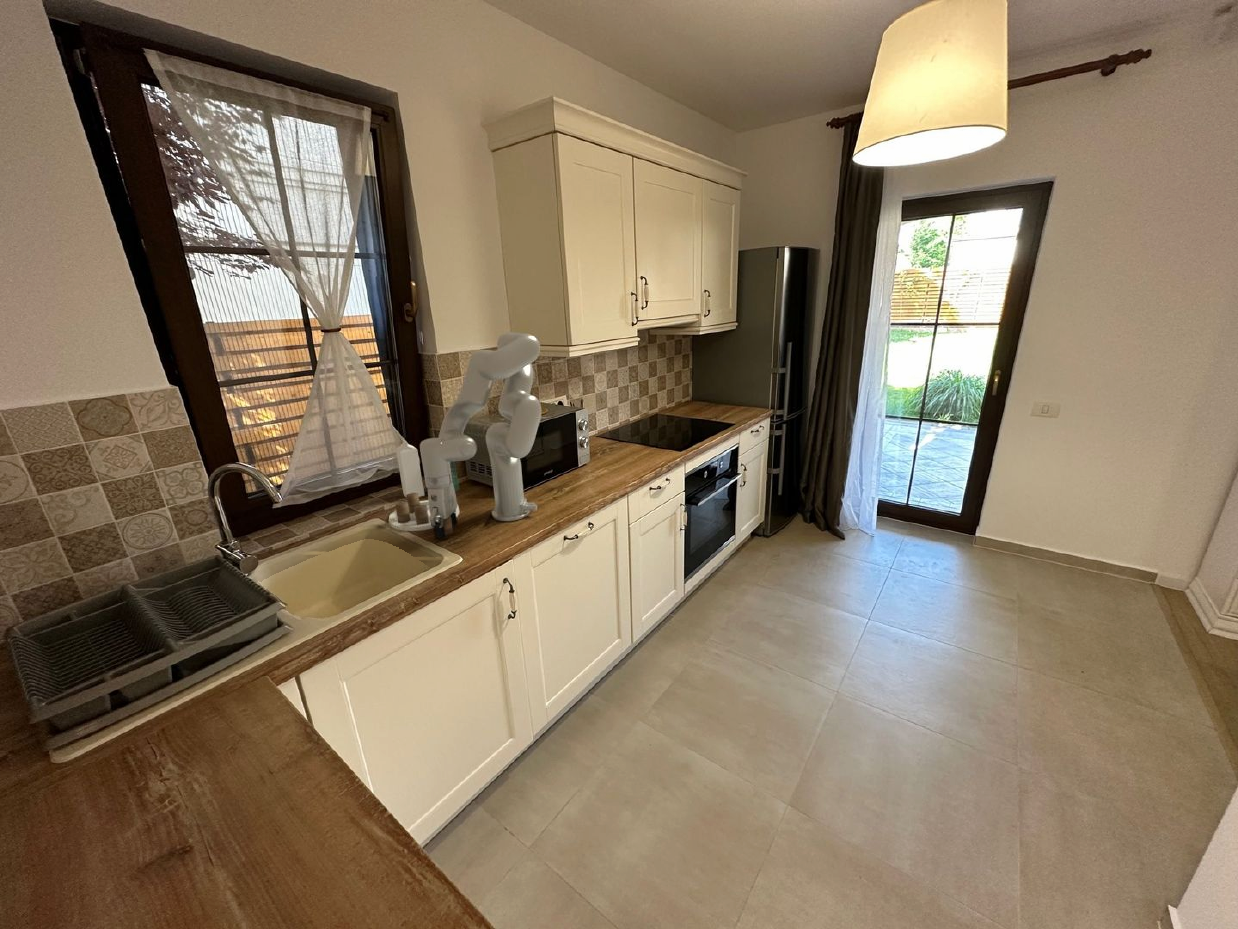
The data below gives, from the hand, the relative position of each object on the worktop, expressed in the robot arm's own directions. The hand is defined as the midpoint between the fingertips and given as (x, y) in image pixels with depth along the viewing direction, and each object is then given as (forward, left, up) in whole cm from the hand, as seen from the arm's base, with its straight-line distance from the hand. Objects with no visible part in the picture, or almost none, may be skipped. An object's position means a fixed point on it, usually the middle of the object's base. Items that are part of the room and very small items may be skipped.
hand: (446, 531), depth 150 cm
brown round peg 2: (+10, -6, 0) cm, 12 cm away
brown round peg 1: (+17, -8, 0) cm, 19 cm away
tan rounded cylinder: (0, 0, -1) cm, 1 cm away
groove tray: (+12, -12, -1) cm, 17 cm away
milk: (+24, -30, -2) cm, 38 cm away
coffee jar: (+14, -36, -2) cm, 39 cm away
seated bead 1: (+17, -16, 0) cm, 23 cm away
